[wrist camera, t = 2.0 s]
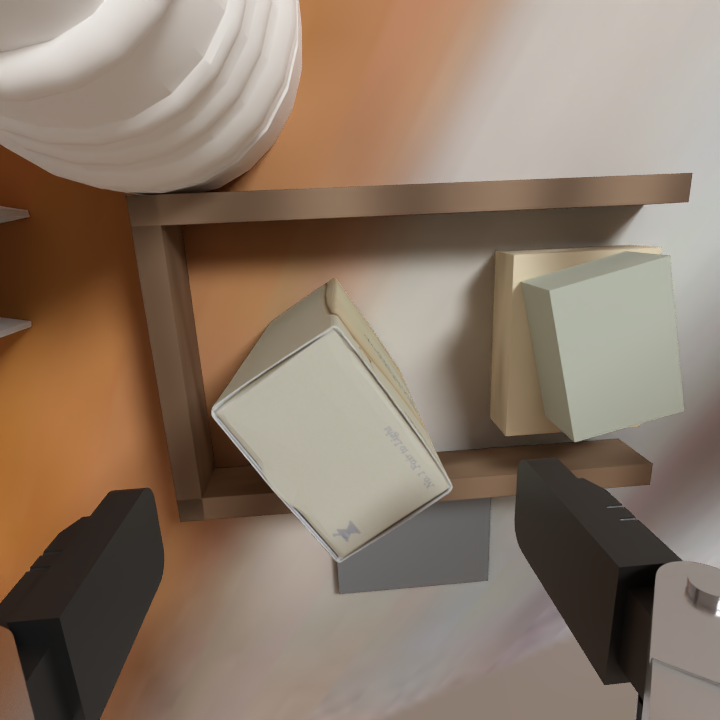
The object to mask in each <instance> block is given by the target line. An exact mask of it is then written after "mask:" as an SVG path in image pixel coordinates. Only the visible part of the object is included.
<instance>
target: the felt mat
mask: <svg viewBox="0 0 720 720" xmlns="http://www.w3.org/2000/svg"><path fill="white" fill-rule="evenodd" d="M490 507H491V497H488V498H475V499H463V500H450V501H438V502H435V503H434V504H432V505H431V506H429V507H428V508H426V509H425V510H423V511H422V512H420V513H419V514H417V515H416V516H414V517H413V518H411V519H410V520H408V521H406V522H405V523H403V524H401V525H400V526H398V527H397V528H395V529H394V530H392V531H391V532H389V533H387V534H386V535H385V536H383V537H381V538H379V539H378V540H376V541H375V542H373V543H371V544H370V545H368V546H367V547H365V548H363V549H362V550H360V551H359V552H357V553H355V554H353V555H352V556H350V557H349V558H347V559H346V560H344V561H343V562H341V563H338V562H337V566H338V582H339V594H344V593H355V592H367V591H378V590H389V589H400V588H411V587H422V586H433V585H444V584H455V583H467V582H478V581H488V563H489V535H490Z"/></svg>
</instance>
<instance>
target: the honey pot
mask: <svg viewBox="0 0 720 720" xmlns="http://www.w3.org/2000/svg"><path fill="white" fill-rule="evenodd" d="M301 71H302V25H301V16H300V7H299V0H0V145H2V146H4V147H5V148H7V149H9V150H11V151H12V152H14V153H16V154H18V155H19V156H21V157H23V158H25V159H26V160H28V161H30V162H32V163H33V164H35V165H37V166H39V167H40V168H42V169H44V170H46V171H47V172H49V173H51V174H53V175H55V176H58V177H62V178H65V179H69V180H72V181H76V182H79V183H83V184H86V185H89V186H93V187H96V188H100V189H108V190H112V191H118V192H124V193H130V194H137V195H160V194H185V193H202V192H206V191H210V190H214V189H218V188H220V187H222V186H224V185H225V184H227V183H229V182H230V181H232V180H234V179H235V178H237V177H239V176H240V175H242V174H244V173H245V172H247V171H249V170H250V169H251V168H252V167H253V166H254V165H255V164H256V163H257V162H258V161H259V160H260V159H261V157H262V156H263V155H264V154H265V153H266V152H267V151H268V150H269V149H270V148H271V147H272V146H273V145H274V144H275V142H276V140H277V138H278V136H279V134H280V132H281V131H282V129H283V127H284V125H285V123H286V121H287V119H288V117H289V115H290V113H291V111H292V110H293V106H294V102H295V97H296V93H297V89H298V84H299V80H300V76H301Z"/></svg>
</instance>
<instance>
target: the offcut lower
mask: <svg viewBox="0 0 720 720" xmlns="http://www.w3.org/2000/svg"><path fill="white" fill-rule="evenodd" d="M624 251H630V252H640V253H650V254H659V255H661V251H662V247H650V246H637V245H618V246H598V247H578V248H558V249H537V250H517V251H497V252H495V278H494V308H493V338H492V369H491V399H490V418H491V419H492V421H493V422H494V423H495V424H496V425H497V426H498V428H499V429H500V430H501V431H502V432H503V433H504V435H505V436H517V435H531V434H545V433H559V432H562V431H561V430H560V429H559V428H558V427H557V426H556V425H555V424H553V423H552V422H551V421H550V420H549V419H548V418H547V417H546V416H545V412H544V406H543V401H542V395H541V390H540V384H539V379H538V373H537V368H536V362H535V357H534V352H533V346H532V341H531V335H530V330H529V324H528V319H527V313H526V308H525V302H524V297H523V291H522V286H521V281H525V280H528V279H531V278H535V277H538V276H542V275H545V274H549V273H552V272H555V271H559V270H562V269H566V268H569V267H573V266H576V265H580V264H583V263H586V262H590V261H593V260H597V259H600V258H604V257H607V256H611V255H614V254H617V253H621V252H624ZM631 427H639V424H638V425H634V426H631ZM627 428H628V427H627Z"/></svg>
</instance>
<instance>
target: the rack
mask: <svg viewBox="0 0 720 720" xmlns="http://www.w3.org/2000/svg"><path fill="white" fill-rule="evenodd" d="M691 180H692V173H680V174H655V175H630V176H606V177H581V178H556V179H531V180H507V181H482V182H457V183H432V184H408V185H383V186H358V187H333V188H309V189H284V190H259V191H234V192H210V193H185V194H160V195H135V196H126V200H127V206H128V212H129V218H130V224H131V230H132V236H133V242H134V248H135V254H136V260H137V266H138V272H139V278H140V284H141V290H142V296H143V302H144V308H145V314H146V320H147V326H148V332H149V338H150V344H151V350H152V356H153V362H154V368H155V374H156V380H157V386H158V392H159V398H160V404H161V410H162V416H163V422H164V428H165V434H166V440H167V446H168V452H169V458H170V464H171V470H172V476H173V481H174V487H175V493H176V499H177V505H178V511H179V517H180V522H186V521H199V520H212V519H224V518H237V517H249V516H262V515H274V514H287V513H292V511H291V510H290V509H289V508H288V507H287V506H286V505H285V503H284V502H283V501H282V500H281V499H280V498H279V497H278V496H277V495H276V493H275V492H274V491H273V490H272V489H271V488H270V487H269V485H268V484H267V483H266V482H265V480H264V479H263V478H262V477H261V476H260V474H259V473H258V472H257V471H256V470H255V468H254V467H253V466H242V467H229V468H215V464H214V457H213V450H212V443H211V435H210V428H209V421H208V414H207V407H206V400H205V392H204V385H203V378H202V371H201V364H200V357H199V349H198V342H197V335H196V328H195V321H194V314H193V306H192V299H191V292H190V285H189V278H188V271H187V263H186V256H185V249H184V242H183V235H182V228H181V225H195V224H218V223H240V222H263V221H285V220H308V219H331V218H353V217H376V216H399V215H421V214H444V213H467V212H489V211H512V210H535V209H557V208H580V207H603V206H625V205H647V204H664V203H681V202H689V195H690V187H691ZM436 453H437V455H438V457H439V459H440V461H441V463H442V465H443V467H444V469H445V471H446V473H447V475H448V477H449V479H450V481H451V483H452V486H453V488H452V490H451V492H450V493H449V494H447V495H445V496H444V497H442V498H441V499H440V500H438V501H450V500H463V499H475V498H488V497H500V496H513V495H516V486H517V470H518V465H519V463H520V461H522V460H530V459H543V458H557V459H558V460H560V461H561V462H562V463H563V464H564V465H565V466H566V467H567V468H568V469H569V470H570V471H571V472H572V473H573V474H574V475H575V476H576V477H577V478H584V479H586V480H588V481H590V482H592V483H594V484H596V485H598V486H600V487H602V488H613V487H626V486H638V485H650V479H651V472H652V465H653V464H652V463H651V462H649V461H648V460H647V459H645V458H644V457H643V456H641V455H640V454H638V453H637V452H636V451H634V450H633V449H632V448H630V447H629V446H628V445H626V444H625V443H623V442H622V441H621V440H619V439H609V440H596V441H582V442H568V443H555V444H541V445H528V446H514V447H500V448H487V449H473V450H460V451H446V452H436ZM438 501H437V502H438Z"/></svg>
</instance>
